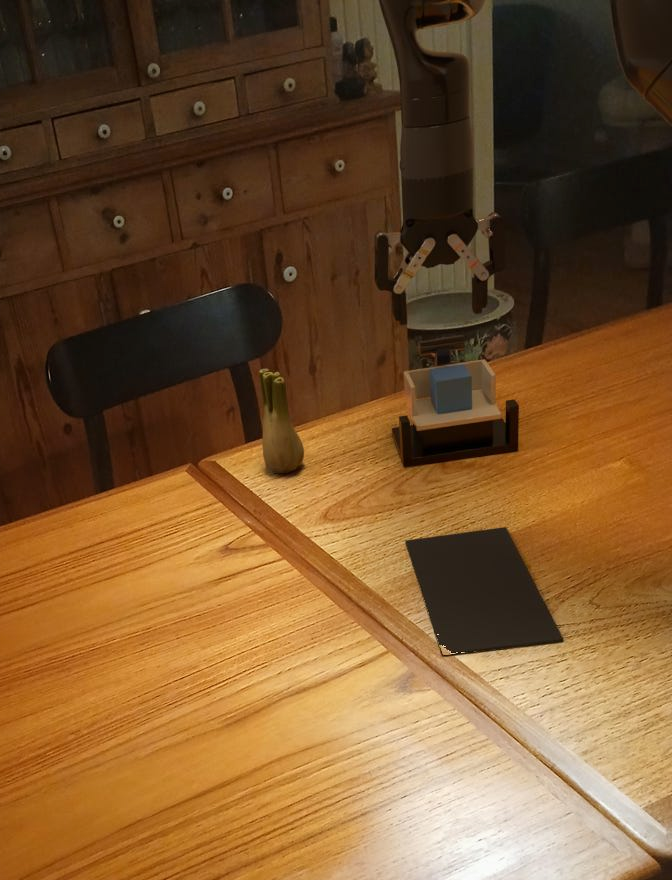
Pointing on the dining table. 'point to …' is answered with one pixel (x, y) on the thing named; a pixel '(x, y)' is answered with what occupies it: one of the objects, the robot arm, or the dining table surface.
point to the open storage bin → (420, 388)
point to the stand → (457, 439)
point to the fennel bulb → (278, 426)
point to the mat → (480, 592)
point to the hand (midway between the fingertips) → (440, 317)
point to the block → (451, 389)
